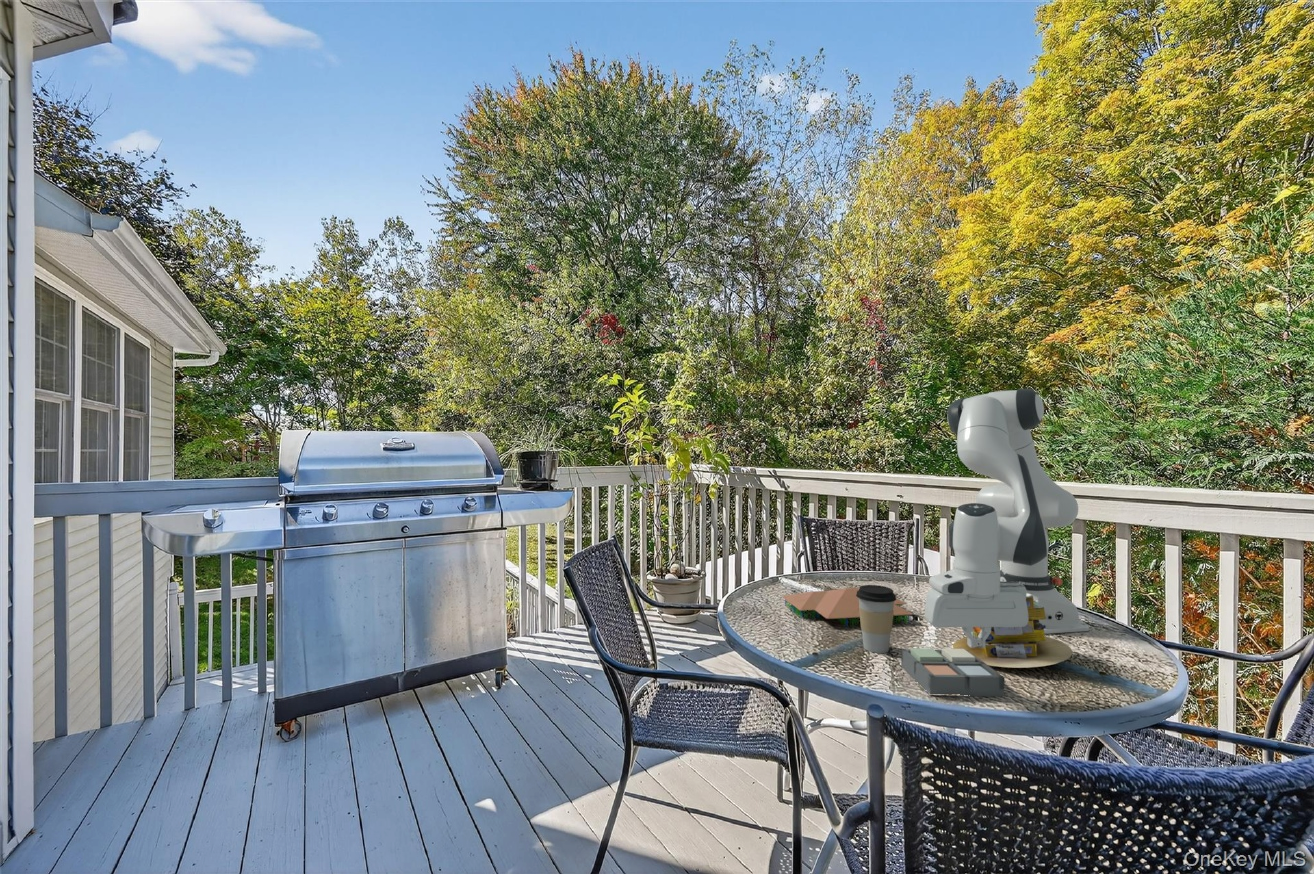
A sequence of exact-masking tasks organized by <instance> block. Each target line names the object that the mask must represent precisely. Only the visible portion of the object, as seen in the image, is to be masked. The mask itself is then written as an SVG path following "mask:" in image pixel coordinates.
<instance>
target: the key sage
mask: <svg viewBox="0 0 1314 874" xmlns="http://www.w3.org/2000/svg"><path fill="white" fill-rule="evenodd" d="M910 649H911V655H912V656H913V657H914V658H916V659H917V660H918V661H935V662H943V657H942V656H941V655H940V654H939V653H937V652H936V651H935V650H936V649H934V648H923V647H922V648H919V647H918V648H910Z"/></svg>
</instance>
